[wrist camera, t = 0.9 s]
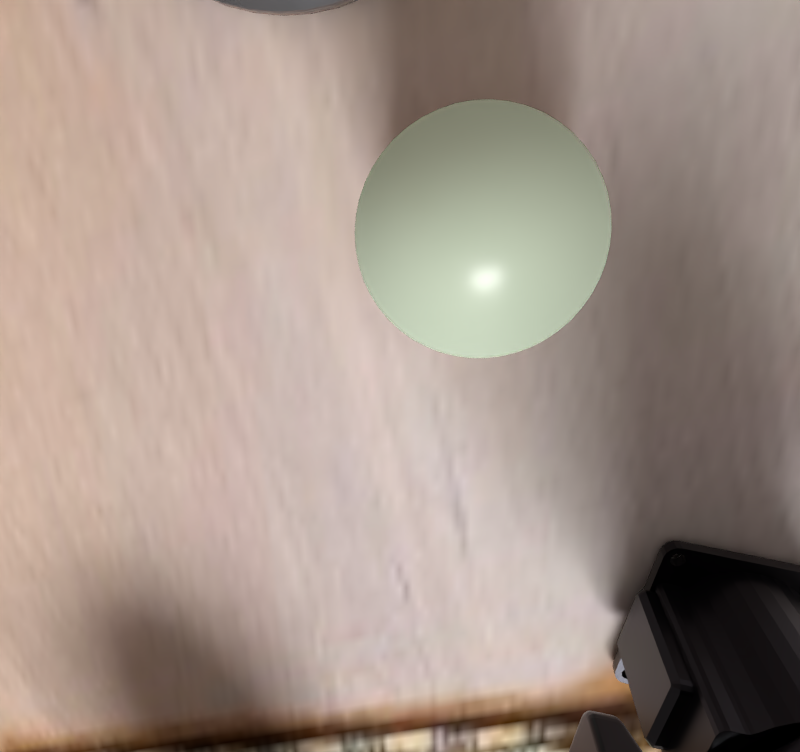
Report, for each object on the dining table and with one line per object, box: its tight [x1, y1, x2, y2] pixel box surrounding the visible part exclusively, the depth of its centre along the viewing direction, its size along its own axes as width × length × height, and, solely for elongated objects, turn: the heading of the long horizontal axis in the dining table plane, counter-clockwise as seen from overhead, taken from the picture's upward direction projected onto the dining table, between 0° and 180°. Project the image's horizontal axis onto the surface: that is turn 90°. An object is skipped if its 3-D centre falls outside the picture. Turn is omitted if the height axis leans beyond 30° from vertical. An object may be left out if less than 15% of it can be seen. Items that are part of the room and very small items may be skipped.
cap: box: [355, 99, 612, 358], centre depth 15 cm, size 5×5×6 cm
